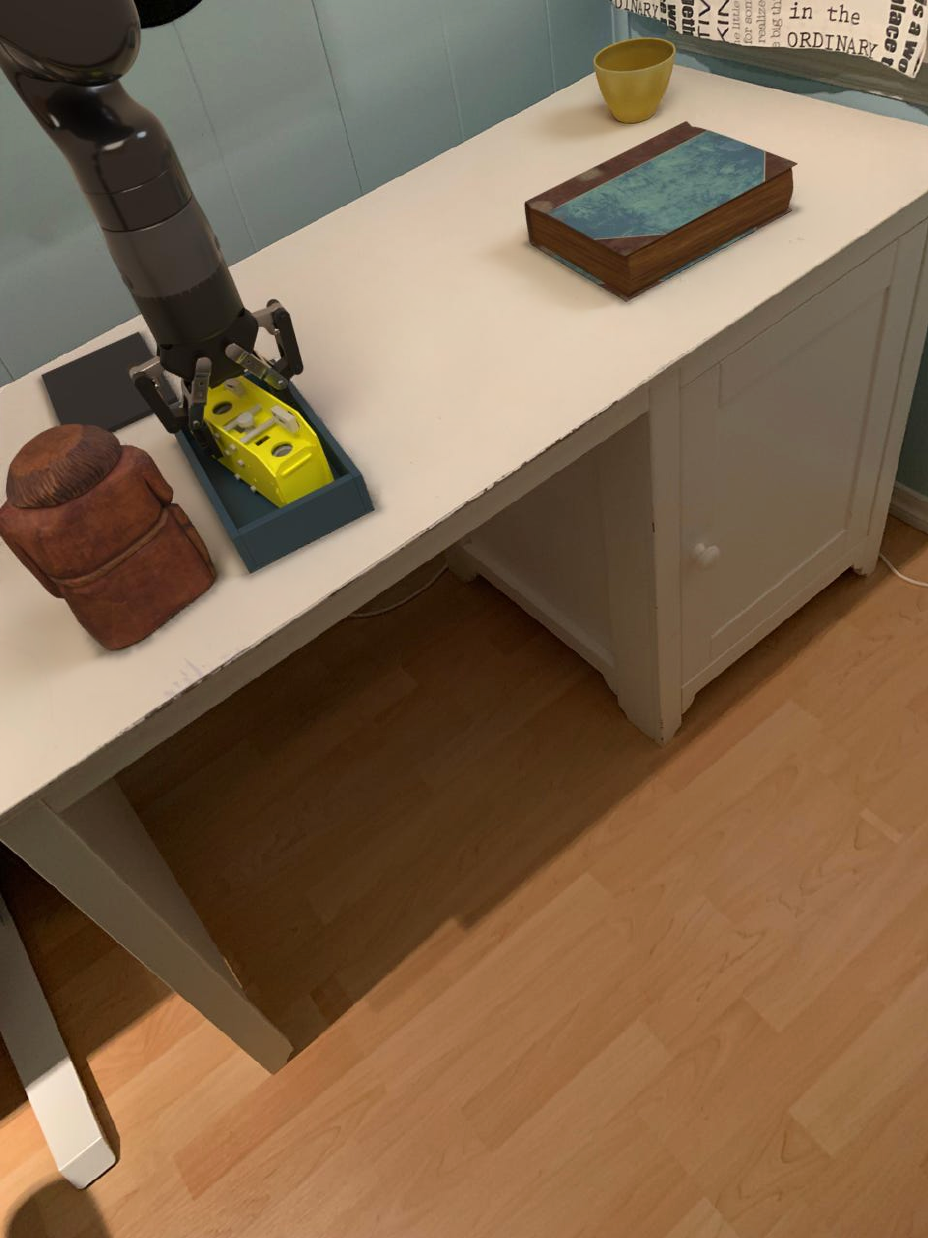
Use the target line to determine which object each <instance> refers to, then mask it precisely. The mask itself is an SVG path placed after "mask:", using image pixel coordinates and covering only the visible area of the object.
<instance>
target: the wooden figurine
mask: <svg viewBox="0 0 928 1238" xmlns="http://www.w3.org/2000/svg"><path fill="white" fill-rule="evenodd" d="M6 475H7V476H6V483H5V495H6V496H5V497H6V500H5V501H4V503H3V504H2V505H1V507H0V537H1V539H2V541H3V542H4V543H5V545H6V546H7V547H8V548H9V550H10V551H11V553H13V555H14V556H15V557H16V558H17V559H18V560H19V561H20V563H21V564H22V565H23V566H24V567H25V569H27V570H28V571H29V573H30V574H31V575H32V576H33V577H34V578H35V579H36V581H38V583H39V584H40V585H41V586H42V588H44V590H46V592H47V593H48V594H50V595H51V596H52V597H54V598H56V599H62V600H64V601H65V602H66V604H67V606H68V607H69V609H70V612H71V613H72V614H73V615H74V617H75V618H76V621H77V622H78V623H79V624H80V626H81V627H82V628H83V629H84V630H85V632H86V633H88V634H89V635H90V636H91V637H92V638H93V639H94V640H95V641H96V642H98V644H99V645H100V646H101V647H102V648H104V649H105V650H119V649H122V648H125V647H128V646H130V645H132V644H134V643H138V642H140V641H142V640H143V639H145V638H146V637H148V636H149V635H151V634H152V633H154V631H155V630H157V629H158V628H160V627H161V626H162V625H163V624H165V622H167V621H168V620H169V619H171V618H172V617H173V616H175V614H177V613H178V612H179V611H181V610H182V609H184V608H185V607H187V606H188V605H189V604H190V603H192V602H193V601H194V600H196V599H197V598H199V596H201V595H203V593H204V592H205V591H207V590H208V589H210V588H211V587H212V586H213V584H214V582H215V579H216V576H217V572H216V568H215V566H214V563H213V561H212V558H211V554H210V552H209V550H208V548H207V546H206V543H205V542H204V540H203V538H202V536H201V535H200V532H199V531H198V529H197V528H196V526H195V525H194V524H193V522H192V520H191V518H190V517H189V515H188V514H187V513H186V512H185V511H184V509H183V508H182V506H181V505H180V504H179V503H176V502H173V501H174V493H175V491H174V489H173V487H172V486H171V485H170V484H169V482H168V481H167V479H166V478H165V477H164V475H163V474H162V472H161V470H160V469H159V467H158V465H157V463H156V461H155V460H154V459H153V457H152V455H150V454H149V452H148V451H147V450H144V449H142V448H140V447H137V446H135V445H133V444H132V445H131V444H121V442H120V440H119V439H118V437H117V436H116V435H115V434H114V433H113V432H108V431H106V430H104V429H102V428H100V427H98V426H93V425H87V424H68V425H56V426H52V427H50V428H47V429H46V430H43V431H41V432H40V433H38V434H36V435H35V436H34V437H32V438H31V439H29V441H28V442H25V444H23V446H22V447H21V448H20V449H19V450H18V452H17V453H16V454H15V456H14V457H13V459H12V460H11V462H10V464H9V467H8V470H7V474H6Z"/></svg>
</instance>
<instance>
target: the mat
mask: <svg viewBox="0 0 928 1238" xmlns="http://www.w3.org/2000/svg"><path fill="white" fill-rule="evenodd" d="M154 357H155V356H154V355H153V354H152V352H151V350H150V348H149V346H148V345H147V343H146V341H145V339H144V337H143V336H142V334H141V333H140V331H136V332H134V333H132V334H130V335H128V336H127V335H126V337H123V338H120V339H119V340H117V341H114V342H112V343H109V344H108V345H107V344H106V345H105V346H103V347H101V348H98V349H95V350H94V351H91V352H89V353H86V354H85V355H83V356H81V357H78V358H75V359H73V360H72V361H69V362H67V363H64V364H63V365H60V366H58V367H56V368H54V369H51V370H49V371H46V372H45V373H42V374H41V378H42V382H43V384H44V386H45V389H46V392H47V394H48V396H49V399H50V402H51V405H52V407H53V409H54V412H55V415H56V417H57V420H58V422H59V424H60V425H59V426H61V425H68V424H87V425H93V426H98V427H100V428H102V429H104V430H106V431H108V432H111V433H113V432H115V431H118V430H120V429H122V428H124V427H126V426H128V425H130V424H132V423H135V422H136V421H139V420H141V419H143V418H146V417H147V416H149V415H152V414H155V413H154V412H153V411H152V409H151V408H150V406H149V405H148V404H147V402H146V401H145V399H144V398H143V396H142V395H141V394H140V392H139V391H138V389H137V388H136V387H135V385H134V383H133V381H132V379H131V377H130V375H129V373H128V371H127V367H128V365H129V364H131V363H133V362H136V363H139V364H140V365H142V364H143V363H145V362H147V361H149V360H150V359H152V358H154ZM161 378H162V381H163V385H162V387H161V388H160V389H159V392H160V393H161V395H162V396H163V398H164V399H165V401H166V402H167V404H168V405H169V406H172V405H174V404H176V403H179V398H178V397H177V395H176V393H175V392H174V390H173V388H172V387H171V384H170V383H169V381H168V379H167V378H166V376H165V374H164V372H163V373H162V375H161Z"/></svg>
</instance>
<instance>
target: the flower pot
mask: <svg viewBox="0 0 928 1238" xmlns="http://www.w3.org/2000/svg"><path fill="white" fill-rule="evenodd" d="M675 56H676V46H675V44H674V43H673V42H671V41H669V40H667V39H664V38H659V37H635V38H630V39H625V40H621V41H617V42H615V43H612V44H610V45H607V46H606V47H604V48H603V49H601V50H600V51H598V52H597V53H596V54H595V56H594V57H593V59H592V61H593V68H594V73H595V77H596V80H597V84H598V87H599V90H600V92H601V95H602V98H603V99H604V101H605V103H606V106H607V107H608V109H609V110H610V113H612V115H613V117H614V118H615V120H617V121H618V122H622V123H626V124H635V123H640V122H643V121H646V120H648V119H650V118H652V117H653V116H654V115H655V113H656V111H657V109H658V108H659V106H660V105H661V102H662V100H663V98H664V95H665V93H666V91H667V89H668V86H669V83H670V80H671V76H672V73H673V68H674V63H675Z"/></svg>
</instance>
